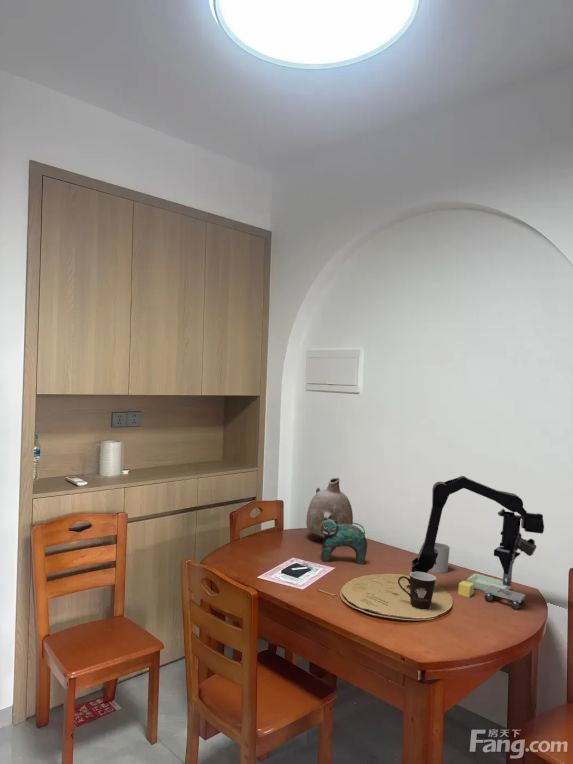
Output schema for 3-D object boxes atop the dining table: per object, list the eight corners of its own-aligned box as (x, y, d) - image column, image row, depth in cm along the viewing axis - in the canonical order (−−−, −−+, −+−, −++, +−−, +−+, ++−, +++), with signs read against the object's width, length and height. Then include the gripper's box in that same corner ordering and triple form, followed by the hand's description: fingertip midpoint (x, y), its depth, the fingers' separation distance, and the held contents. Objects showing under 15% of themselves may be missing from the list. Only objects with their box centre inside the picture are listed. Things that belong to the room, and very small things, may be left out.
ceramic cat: (318, 562, 222) (322, 513, 223) (316, 557, 229) (320, 509, 229) (366, 566, 223) (370, 517, 223) (363, 561, 230) (367, 513, 230)
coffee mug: (437, 607, 185) (440, 577, 185) (425, 613, 179) (428, 582, 179) (407, 596, 193) (409, 567, 193) (394, 601, 186) (397, 572, 187)
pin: (510, 587, 193) (512, 559, 193) (500, 584, 195) (502, 556, 196) (513, 584, 196) (515, 557, 196) (502, 582, 198) (505, 555, 198)
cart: (525, 603, 196) (526, 593, 196) (519, 610, 188) (519, 600, 188) (490, 593, 203) (491, 584, 203) (483, 600, 195) (484, 590, 195)
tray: (502, 596, 202) (503, 589, 202) (465, 585, 209) (466, 579, 210) (510, 589, 210) (510, 582, 210) (474, 579, 218) (474, 573, 218)
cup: (439, 566, 232) (441, 542, 232) (451, 572, 224) (453, 548, 225) (422, 566, 229) (424, 542, 229) (434, 573, 221) (436, 548, 222)
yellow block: (468, 597, 197) (469, 586, 197) (457, 594, 200) (458, 583, 200) (473, 594, 201) (474, 583, 201) (462, 591, 204) (463, 580, 204)
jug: (300, 532, 266) (305, 471, 266) (342, 534, 270) (347, 474, 270) (311, 548, 242) (317, 480, 242) (357, 549, 246) (363, 483, 246)
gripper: (529, 539, 184) (525, 585, 184) (540, 530, 199) (537, 573, 199) (495, 531, 190) (491, 576, 190) (508, 523, 205) (505, 565, 205)
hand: (507, 573), depth 196 cm, fingers closed on pin, 3 cm apart
